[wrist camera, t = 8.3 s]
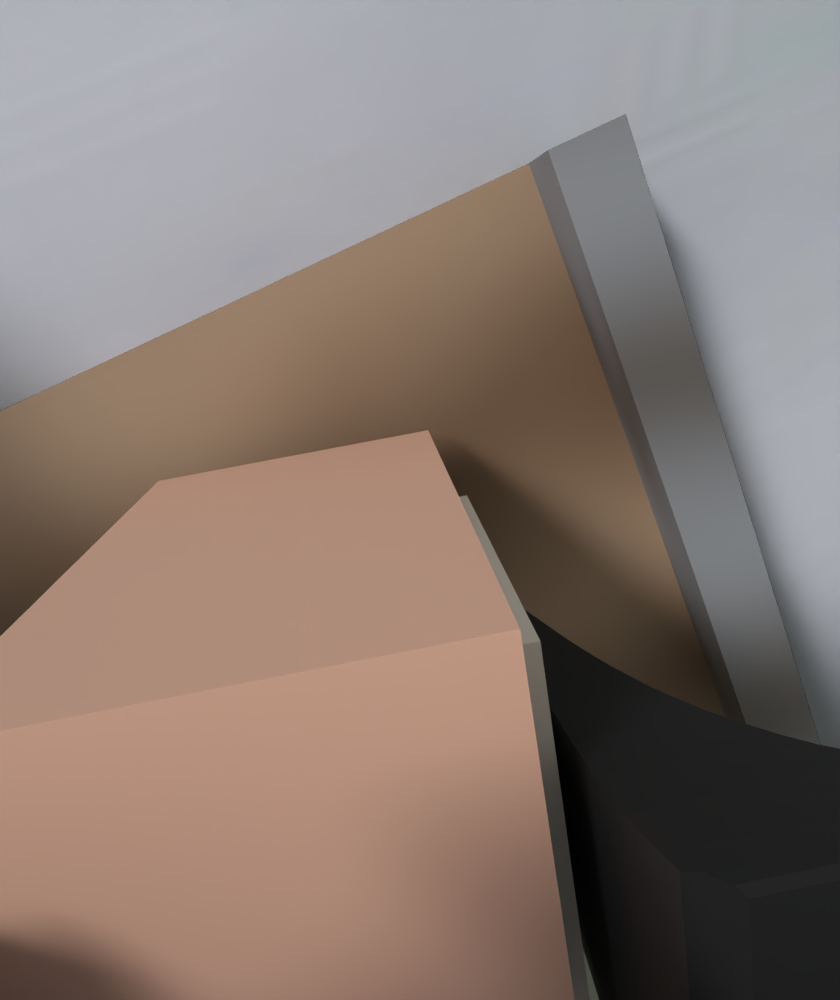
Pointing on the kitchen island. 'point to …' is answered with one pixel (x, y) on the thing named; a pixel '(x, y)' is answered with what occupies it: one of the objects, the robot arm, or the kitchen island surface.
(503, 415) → the shelf board
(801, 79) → the kitchen island surface
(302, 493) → the terracotta box
